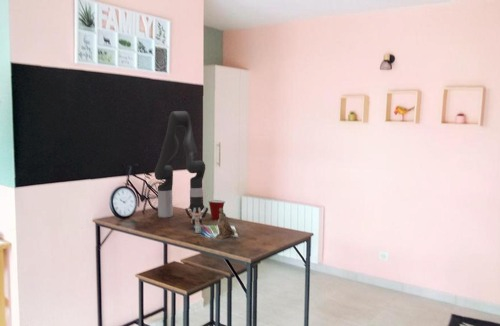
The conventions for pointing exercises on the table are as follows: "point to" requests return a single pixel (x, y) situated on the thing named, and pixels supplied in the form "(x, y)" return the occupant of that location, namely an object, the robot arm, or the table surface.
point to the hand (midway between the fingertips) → (197, 225)
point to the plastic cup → (215, 208)
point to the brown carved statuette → (224, 226)
